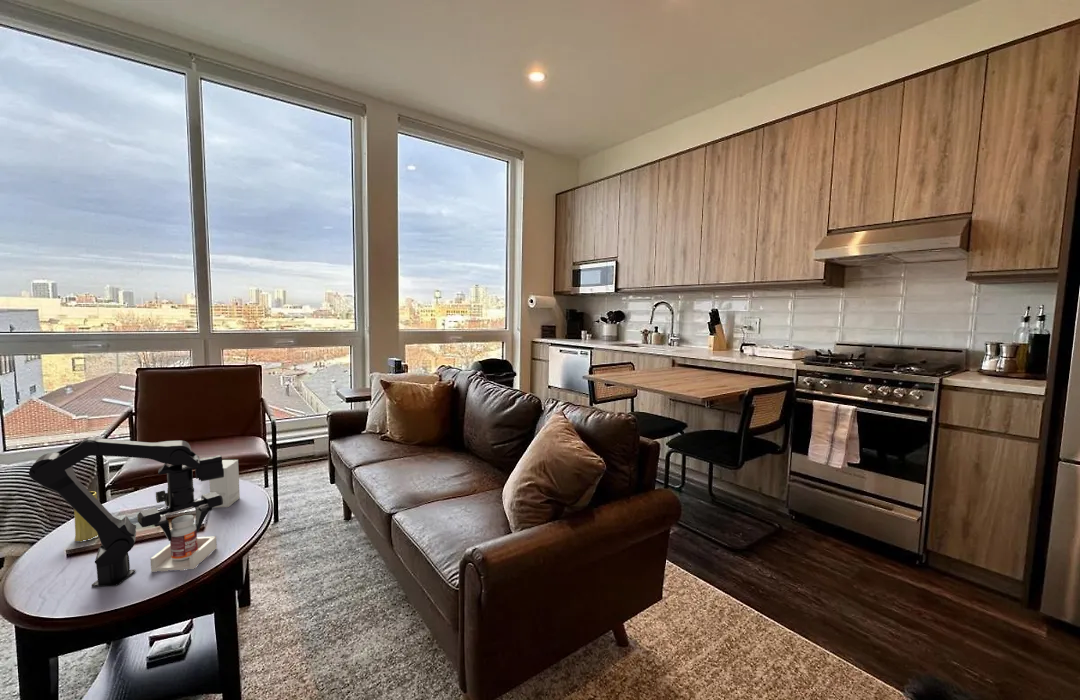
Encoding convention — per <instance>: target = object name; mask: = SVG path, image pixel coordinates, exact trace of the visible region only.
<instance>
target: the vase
mask: <svg viewBox="0 0 1080 700" xmlns="http://www.w3.org/2000/svg"><path fill="white" fill-rule="evenodd" d="M89 492H90V493H91V494H92V495H93V496H94V497H95V498H96V499H97V500H98V495H97V492H96V491H93V490H92V491H90V490H89ZM73 512H74V532H75V533H74V534H75V535H74V541H75V542H76V541H83V540H88V539H91V538H93V537H95V536H97V535H98V534H97V532H96V530H95V529H94V528H93V527H92V526H91V525H90V524H89V523H88V522H87V521H86V520H85V519H84V518H83V517H82V516H81V515H80V514H79V513H78V512H77V511H76V510H75V509H74V508H73Z"/></svg>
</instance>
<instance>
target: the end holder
mask: <svg viewBox="0 0 1080 700" xmlns="http://www.w3.org/2000/svg"><path fill="white" fill-rule="evenodd" d="M197 545H198V550H196V551H195V552H194V553H193V554H192V555H191V556H190V557H189V558H188V559H185V560H173V559H172V558H171V545H170V543H168V545H166V546H165V547H163V548H162V549H161V550H160V551H158V552H157V553H156V554H154V555H152V557H150V559H149V560H150V572H151V573H152V572H153V573H158V572H157V571H161V572H169V571H168V570H180V571H187V570H186V569H194V568H195V567H196V566H197V565H198V564H199V563H200V562H202V561H203V560H204V559H205V558H206V557H207V556H208V555H209V554H210V553H211V552H212V551H214V550H215V549H216V548H218V546H217V545H218V542H217V536H215V535H212V536H197ZM216 550H217V549H216ZM216 550H215V551H216ZM215 551H214V552H215ZM211 554H212V553H211ZM211 554H210V555H211ZM210 555H209V556H210ZM209 556H208V557H209ZM208 557H207V558H208ZM207 558H206V559H207ZM206 559H205V560H206ZM205 560H204V561H205ZM204 561H203V562H204ZM203 562H202V563H203ZM196 568H197V567H196ZM196 568H195V569H196ZM184 569H185V570H184ZM195 569H194V570H195Z"/></svg>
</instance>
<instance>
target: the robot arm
mask: <svg viewBox="0 0 1080 700" xmlns="http://www.w3.org/2000/svg"><path fill="white" fill-rule="evenodd" d="M92 455H93V456H102V457H103V456H105V457H106V456H108V457H118V458H119V457H122V458H134V459H135V458H136V459H148V460H152V461H156V462H158V463H161V464H163V465H162V466H161V467H160V468H159V469H158V470H157V471H158V473H157V474H158V475H159V476H160V475H166V480H167V492H166V491H165V490H164V489H163V490H160V491H156V492H155V500H156V503H157V504H159V503H162V502H164V504H165V506H167V507H168V508H167V507H166V508H164V509H160V510H159V509H158V508H157V507H152V508H148V509H144V510H141V511H139V512H138V514H137V516H136V517H137V522H138V524H139V525H140V526H141V527H142V528H146V527H150V526H154V527H160V528H161V529H162V531H163V533H164V535H165V537H166V538H167V540H168V541H169V542H170V541H171V532H170V531H171V528H170V527H171V526H170V522H169V520H168V519H167V516H170V515H174V514H177V513H181V512H184V511H188V510H192V509H195V520H194V524H195V525H196V528H197V533H199V532H200V529H201V527H202V524H203V523H204V520H205V518H206V517H207V515H208V513H209V512H211V511H213V508H212V507H216V506H219V505H222V504H223V498H222V496H221V495H220V494H218V493H217V492H211V493H210V492H208V493H204V494H201V497H200V499H197V500H195V494H194V493H195V488H194V477H193V475H194V474H193V470H195V480H198V481H200V482H205V481H209V480H212V479H218V478H223V477H224V468H223V464H222V460H223V456H222V455H221V454H217V455H215V456H209V457H203V458H202V457H201V458H200V456H199V455H198V454H196V453H195V452H194V451H193V450H192V447H191V445H190V443H189V442H188V441H185V440H165V441H158V442H147V441H135V440H123V439H114V438H113V439H111V438H99V437H96V436H89V437H85V438H83V439H82V440H81V441H79V442H77V443H74V444H72V445H69V446H67V447H64V448H62V449H61V450H58V451H57V452H48V453H46V454H45V453H44V454H43V455H41V456H40V457H38V459H37V460H36V461H35V462H34V463H33V464H32V465H31V467H29V470H28V476H29V477H30V478H31V480H33V481H35V482H36V483H38V484H39V485H40V486H42V487H44V488H46V489H48V490H52V491H53V492H56V494H57V493H58V494H59V495H60V497H61V498H62V499H64V501H66V503H67V504H68V505H70V507H71V508H72V509H73V510H74V509H75V510H76V511H77V512H78V513H79V514H80V515H81V516H82V517H83V518H84V519H85V520H86V521H87V522H88V523H89V524H90V525H91V526H92V527H93V528H94V529H95V530H96V532H97V534H98V538H99V542H100V544H101V545H100V546H99V548H98V550H97V554H96V556H95V557H96V558H95V560H94V563H95V565H96V577H97V580H96V581H94V582H93V583H91V587H92V588H93V587H110V586H119V585H120V584H121V583H123V582H124V581H125V580H126V579H128V578H130V576H132V575H133V574H134V573H135V572H137V571H136V569H130V568H131V565H130V555H129V552H130V551H131V550H132V549H133V548H134V546H135V543H136V536H137V525H136V524H133V523H132V522H131V520H130V519H129V517H128V516H125V517H124V518H122V519H120V518H116V517H115V516H113V514H111V512H110V511H109V510H108V509H107V508H106V507H105V506H104V505H103V504H102V503H101V502H100V501H99V500H98V498H97V499H96V498H95V497H94V496H93V495H92V494H91V493H90V490H89V489H87V488H86V487H85V485H84V484H83V483H82V482H81V481H80V480H79V479H78V478H77V475H76V472H75V470H74V468H73V466H75V465H76V464H78V463H79V462H81V461H83V460H84V459H86V458H88V457H90V456H92Z"/></svg>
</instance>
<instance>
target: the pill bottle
mask: <svg viewBox="0 0 1080 700" xmlns="http://www.w3.org/2000/svg"><path fill="white" fill-rule="evenodd" d="M170 524H171V526H170V527H171V528H170V532H171V541H169V542H170V543H169V544H170V545H171V558H172V559H173V560H185V559H188V558H189V557H190V556H191V555H192V554H193V553H194V552H195V551H196V550H198V545H197V537H198V532H197V528H196V525H195V518H194V515H193V514H184V515H183V514H182V515H179V516H177V517H174V518H173V519H172V520H171V521H170Z"/></svg>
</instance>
